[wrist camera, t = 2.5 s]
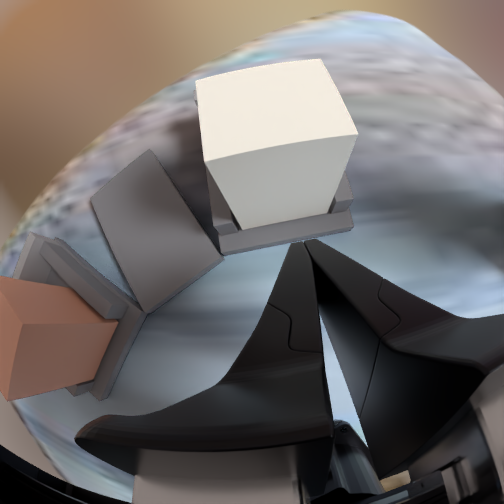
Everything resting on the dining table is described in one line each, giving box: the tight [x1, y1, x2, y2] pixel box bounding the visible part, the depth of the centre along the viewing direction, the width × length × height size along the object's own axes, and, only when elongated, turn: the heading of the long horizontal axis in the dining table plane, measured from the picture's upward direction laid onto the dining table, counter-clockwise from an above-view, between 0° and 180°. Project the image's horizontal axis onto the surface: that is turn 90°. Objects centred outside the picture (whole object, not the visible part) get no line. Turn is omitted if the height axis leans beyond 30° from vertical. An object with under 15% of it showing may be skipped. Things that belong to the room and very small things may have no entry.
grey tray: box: [12, 90, 354, 401], centre depth 16 cm, size 13×30×4 cm, turn 125°
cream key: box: [196, 59, 358, 230], centre depth 12 cm, size 4×5×8 cm
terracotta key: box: [0, 276, 119, 401], centre depth 12 cm, size 4×5×8 cm
